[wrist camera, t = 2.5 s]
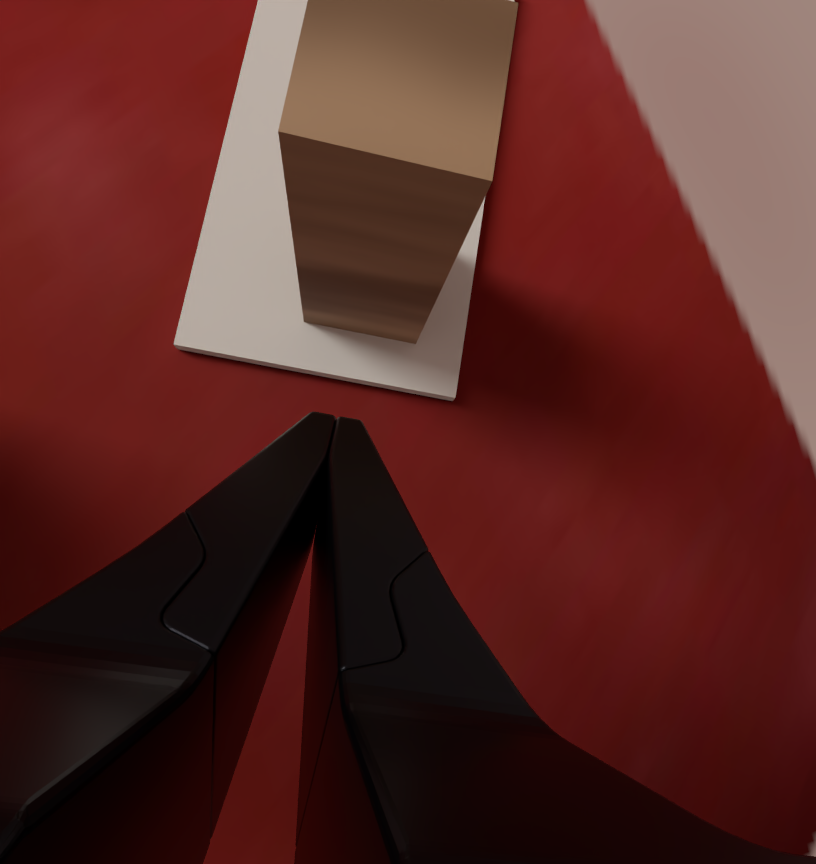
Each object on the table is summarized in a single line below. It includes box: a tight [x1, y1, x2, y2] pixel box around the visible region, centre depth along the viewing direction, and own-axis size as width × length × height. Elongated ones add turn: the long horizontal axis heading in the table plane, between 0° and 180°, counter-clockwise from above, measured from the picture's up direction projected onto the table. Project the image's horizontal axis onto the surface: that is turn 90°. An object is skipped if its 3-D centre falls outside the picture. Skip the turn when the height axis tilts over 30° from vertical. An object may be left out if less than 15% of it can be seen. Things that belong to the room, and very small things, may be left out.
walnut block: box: [278, 0, 518, 344], centre depth 17 cm, size 4×4×11 cm
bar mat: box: [174, 0, 514, 401], centre depth 24 cm, size 20×11×1 cm, turn 171°
